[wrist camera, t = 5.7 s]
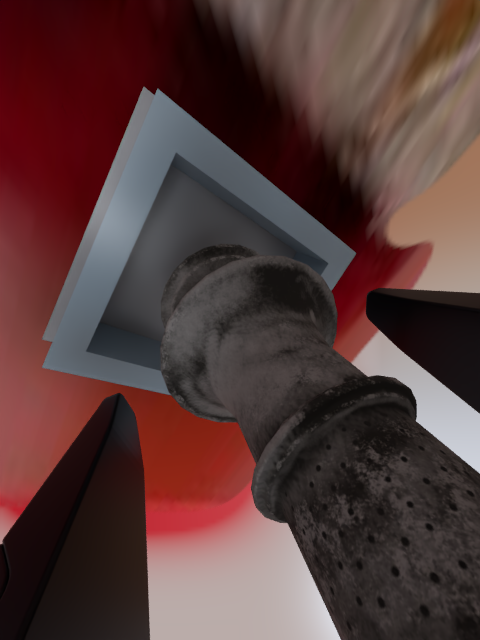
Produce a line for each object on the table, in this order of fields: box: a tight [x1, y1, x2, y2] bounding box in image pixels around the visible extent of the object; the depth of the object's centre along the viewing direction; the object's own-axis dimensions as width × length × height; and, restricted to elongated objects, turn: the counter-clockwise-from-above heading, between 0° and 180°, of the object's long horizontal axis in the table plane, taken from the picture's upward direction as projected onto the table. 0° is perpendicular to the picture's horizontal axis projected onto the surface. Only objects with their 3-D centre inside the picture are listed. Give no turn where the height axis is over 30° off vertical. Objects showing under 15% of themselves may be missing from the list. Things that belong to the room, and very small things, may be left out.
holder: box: [42, 87, 356, 395], centre depth 14 cm, size 12×12×4 cm
